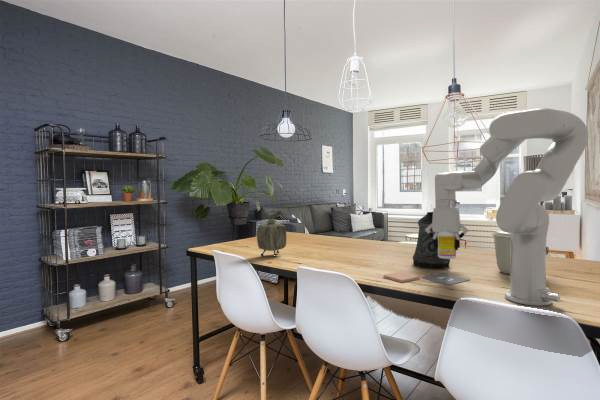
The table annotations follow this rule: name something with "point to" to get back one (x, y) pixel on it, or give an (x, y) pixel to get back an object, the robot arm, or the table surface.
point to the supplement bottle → (446, 245)
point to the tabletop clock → (271, 235)
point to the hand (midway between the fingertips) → (446, 248)
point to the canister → (503, 250)
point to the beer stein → (427, 247)
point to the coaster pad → (401, 277)
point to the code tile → (445, 279)
